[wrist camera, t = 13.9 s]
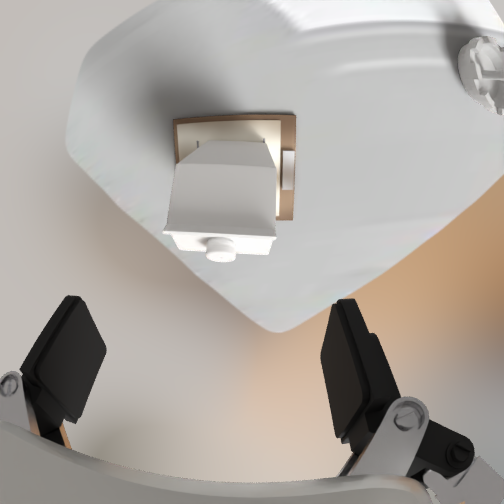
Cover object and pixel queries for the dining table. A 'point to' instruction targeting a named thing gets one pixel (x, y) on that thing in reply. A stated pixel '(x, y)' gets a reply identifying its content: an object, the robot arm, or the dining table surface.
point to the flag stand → (483, 72)
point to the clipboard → (249, 130)
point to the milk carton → (224, 200)
